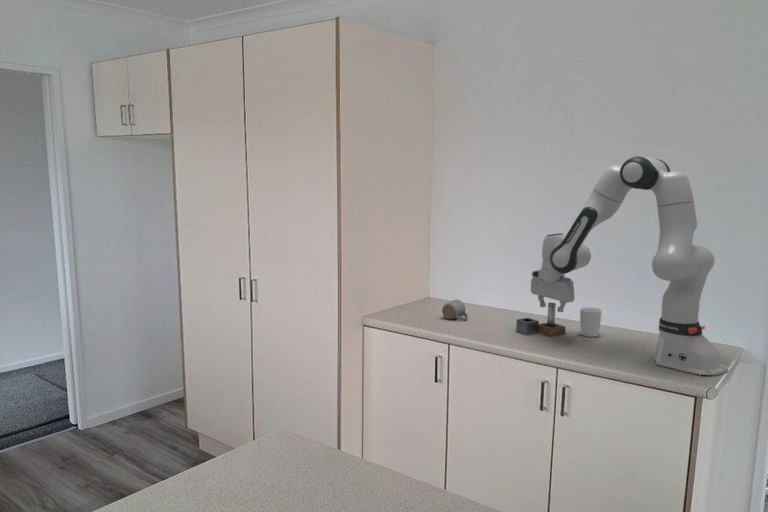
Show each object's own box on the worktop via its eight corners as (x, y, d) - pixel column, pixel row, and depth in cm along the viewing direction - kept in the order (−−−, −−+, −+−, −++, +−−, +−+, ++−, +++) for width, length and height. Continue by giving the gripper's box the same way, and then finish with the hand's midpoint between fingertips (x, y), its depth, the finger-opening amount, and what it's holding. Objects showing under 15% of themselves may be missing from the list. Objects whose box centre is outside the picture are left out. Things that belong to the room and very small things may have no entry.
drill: (555, 333, 232) (557, 303, 230) (550, 334, 230) (551, 304, 229) (550, 331, 234) (551, 302, 233) (545, 332, 233) (546, 302, 231)
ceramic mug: (440, 318, 255) (441, 301, 254) (450, 314, 261) (451, 298, 260) (461, 323, 248) (462, 305, 247) (471, 319, 255) (472, 301, 253)
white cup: (577, 335, 229) (578, 310, 227) (580, 330, 236) (582, 306, 234) (598, 338, 225) (600, 312, 224) (601, 333, 232) (603, 308, 231)
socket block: (538, 333, 232) (538, 320, 231) (526, 335, 229) (527, 322, 228) (527, 329, 237) (528, 317, 236) (516, 331, 234) (516, 319, 234)
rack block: (565, 334, 231) (565, 326, 230) (550, 336, 227) (550, 329, 227) (550, 329, 238) (550, 322, 237) (535, 331, 234) (535, 324, 233)
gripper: (579, 278, 222) (577, 313, 223) (540, 270, 239) (539, 303, 241) (567, 279, 218) (565, 315, 220) (528, 271, 236) (527, 305, 238)
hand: (551, 309), depth 231 cm, fingers open, 8 cm apart
